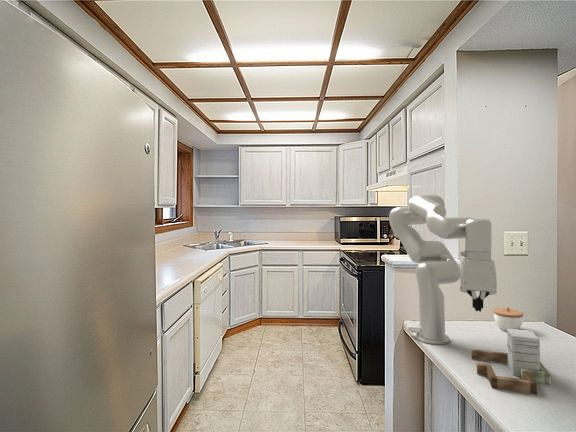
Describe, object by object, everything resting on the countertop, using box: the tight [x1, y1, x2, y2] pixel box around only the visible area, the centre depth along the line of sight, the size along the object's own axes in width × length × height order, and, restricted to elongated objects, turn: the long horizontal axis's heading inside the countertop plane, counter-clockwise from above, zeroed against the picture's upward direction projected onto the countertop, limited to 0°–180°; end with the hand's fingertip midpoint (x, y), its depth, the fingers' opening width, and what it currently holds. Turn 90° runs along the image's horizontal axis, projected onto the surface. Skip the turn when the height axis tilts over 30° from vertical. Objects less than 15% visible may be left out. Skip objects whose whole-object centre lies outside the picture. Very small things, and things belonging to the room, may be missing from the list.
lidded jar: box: [493, 307, 524, 332], centre depth 142 cm, size 11×11×9 cm
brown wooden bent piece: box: [486, 366, 538, 395], centre depth 98 cm, size 11×8×3 cm
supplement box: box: [506, 329, 541, 377], centre depth 105 cm, size 7×7×13 cm
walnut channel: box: [470, 348, 552, 385], centre depth 107 cm, size 19×13×3 cm
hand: (477, 310), depth 110 cm, fingers closed
